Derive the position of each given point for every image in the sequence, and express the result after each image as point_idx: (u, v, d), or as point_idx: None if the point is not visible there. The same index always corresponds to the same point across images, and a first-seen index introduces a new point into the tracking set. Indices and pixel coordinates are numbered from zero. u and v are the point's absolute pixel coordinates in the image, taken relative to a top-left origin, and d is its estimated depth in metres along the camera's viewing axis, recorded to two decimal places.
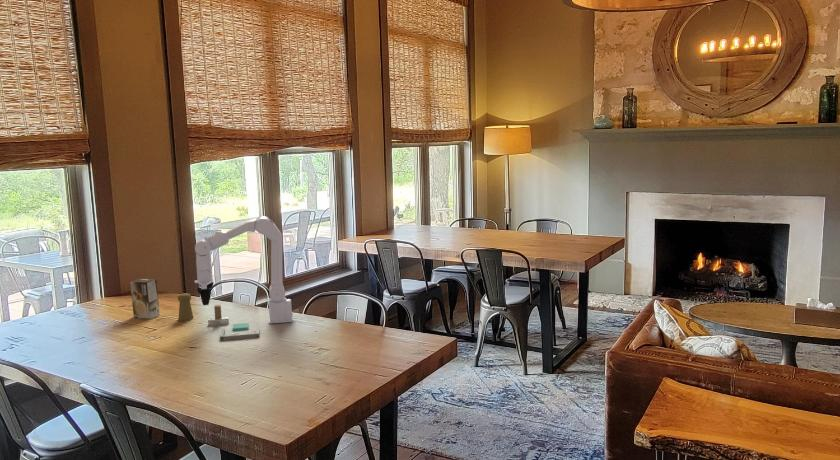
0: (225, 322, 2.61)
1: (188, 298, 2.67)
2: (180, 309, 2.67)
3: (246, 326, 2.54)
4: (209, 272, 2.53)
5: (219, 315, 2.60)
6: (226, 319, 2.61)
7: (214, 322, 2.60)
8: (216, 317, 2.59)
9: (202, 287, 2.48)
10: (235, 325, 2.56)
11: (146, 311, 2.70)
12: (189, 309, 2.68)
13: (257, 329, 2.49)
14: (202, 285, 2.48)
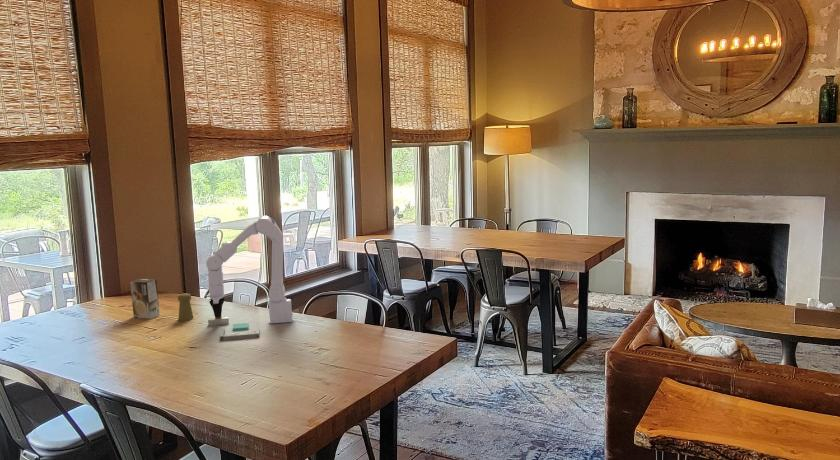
0: (225, 322, 2.61)
1: (188, 298, 2.67)
2: (180, 309, 2.67)
3: (246, 326, 2.54)
4: (221, 286, 2.57)
5: None
6: (226, 319, 2.61)
7: (214, 322, 2.60)
8: None
9: (214, 301, 2.52)
10: (235, 325, 2.56)
11: (146, 311, 2.70)
12: (189, 309, 2.68)
13: (257, 329, 2.49)
14: (214, 300, 2.52)
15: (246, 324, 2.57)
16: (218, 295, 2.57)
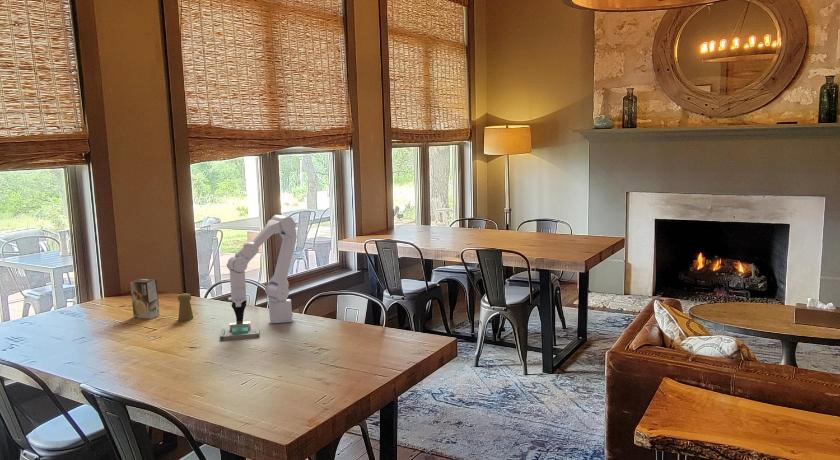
0: None
1: (188, 298, 2.67)
2: (180, 309, 2.67)
3: (246, 329, 2.49)
4: (243, 289, 2.50)
5: None
6: (248, 324, 2.54)
7: None
8: (238, 322, 2.52)
9: (237, 305, 2.45)
10: (234, 328, 2.51)
11: (146, 311, 2.70)
12: (189, 309, 2.68)
13: (257, 329, 2.49)
14: (237, 303, 2.45)
15: (246, 327, 2.52)
16: (240, 298, 2.50)
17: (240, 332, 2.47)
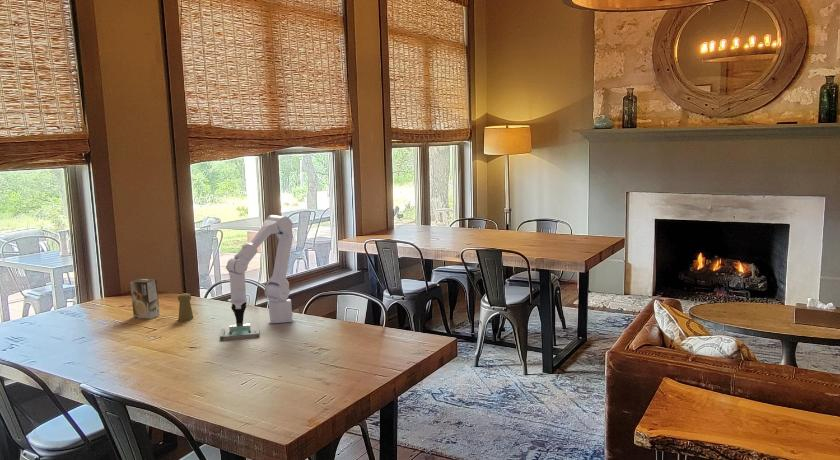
0: None
1: (188, 298, 2.67)
2: (180, 309, 2.67)
3: (246, 332, 2.46)
4: (243, 291, 2.47)
5: None
6: (248, 326, 2.51)
7: (235, 329, 2.50)
8: (237, 324, 2.50)
9: (236, 307, 2.42)
10: (234, 331, 2.48)
11: (146, 311, 2.70)
12: (189, 309, 2.68)
13: (257, 329, 2.49)
14: (236, 305, 2.42)
15: (246, 330, 2.49)
16: (240, 300, 2.47)
17: None
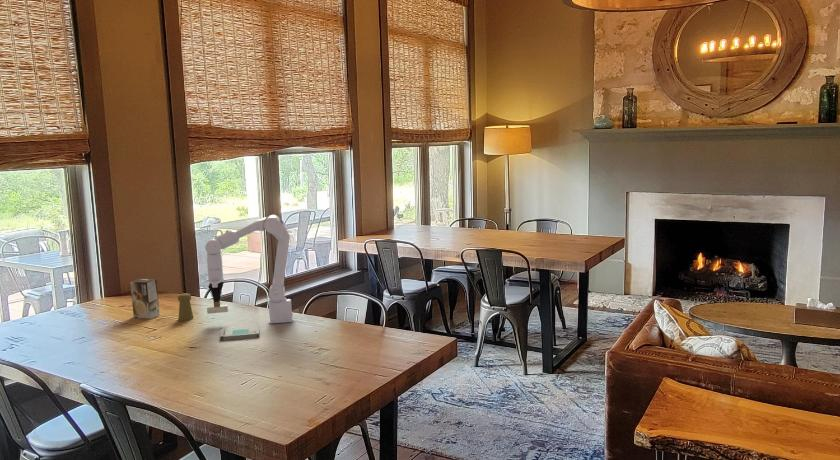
0: (224, 310, 2.60)
1: (188, 298, 2.67)
2: (180, 309, 2.67)
3: (246, 332, 2.46)
4: (220, 271, 2.56)
5: (218, 303, 2.59)
6: (225, 307, 2.60)
7: (213, 310, 2.59)
8: (215, 305, 2.59)
9: (213, 285, 2.51)
10: (235, 331, 2.48)
11: (146, 311, 2.70)
12: (189, 309, 2.68)
13: (257, 329, 2.49)
14: (213, 283, 2.51)
15: (246, 330, 2.49)
16: (217, 279, 2.56)
17: None
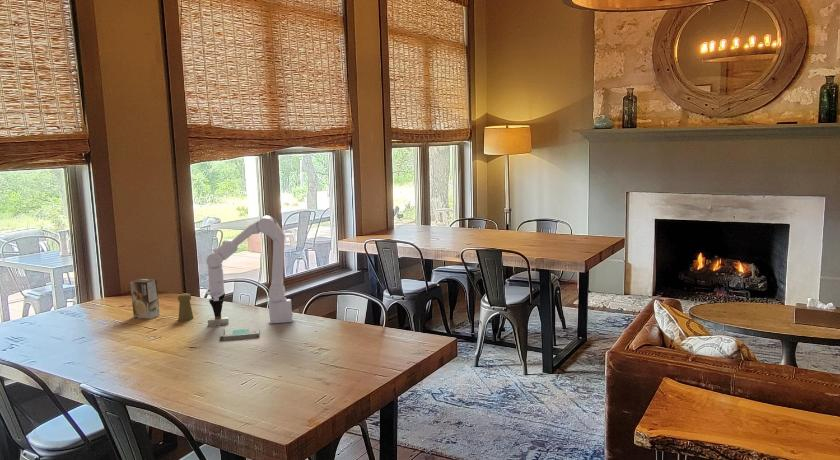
0: (225, 322, 2.61)
1: (188, 298, 2.67)
2: (180, 309, 2.67)
3: (246, 332, 2.46)
4: (221, 284, 2.57)
5: None
6: (226, 319, 2.61)
7: (214, 322, 2.60)
8: (216, 317, 2.59)
9: (214, 299, 2.52)
10: (235, 331, 2.48)
11: (146, 311, 2.70)
12: (189, 309, 2.68)
13: (257, 329, 2.49)
14: (214, 297, 2.52)
15: (246, 330, 2.49)
16: (218, 292, 2.57)
17: None
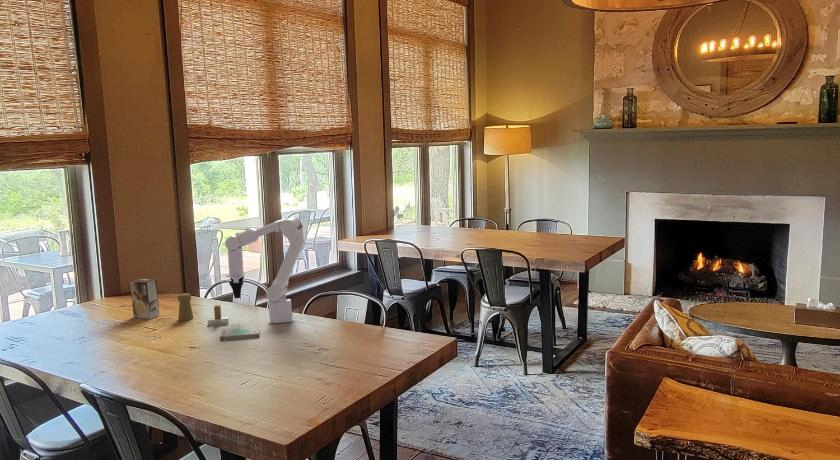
0: (225, 322, 2.61)
1: (188, 298, 2.67)
2: (180, 309, 2.67)
3: (246, 332, 2.46)
4: (240, 266, 2.62)
5: (219, 315, 2.60)
6: (226, 319, 2.61)
7: (214, 322, 2.60)
8: (216, 317, 2.59)
9: (234, 281, 2.57)
10: (235, 331, 2.48)
11: (146, 311, 2.70)
12: (189, 309, 2.68)
13: (257, 329, 2.49)
14: (234, 279, 2.57)
15: (246, 330, 2.49)
16: (238, 275, 2.61)
17: None
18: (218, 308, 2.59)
